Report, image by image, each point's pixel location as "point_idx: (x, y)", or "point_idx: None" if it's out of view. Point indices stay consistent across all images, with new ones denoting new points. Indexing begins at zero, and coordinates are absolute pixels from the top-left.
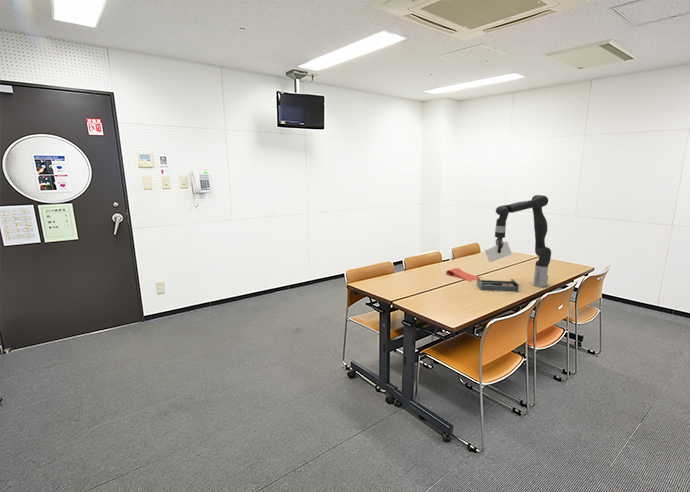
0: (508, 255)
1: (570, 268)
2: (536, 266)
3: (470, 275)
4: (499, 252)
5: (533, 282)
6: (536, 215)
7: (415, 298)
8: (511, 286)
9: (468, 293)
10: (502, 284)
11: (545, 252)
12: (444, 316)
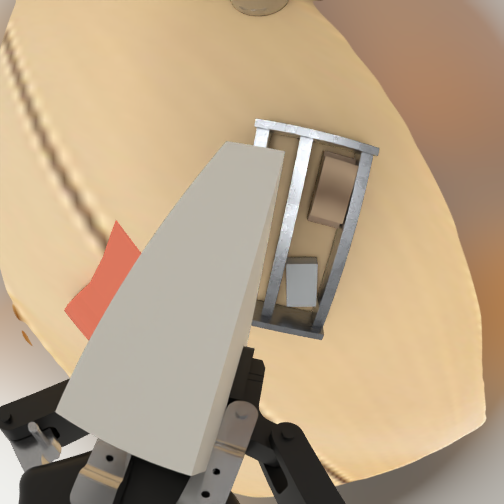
0: (274, 207)
1: None
2: None
3: (110, 272)
4: (251, 362)
5: (245, 9)
6: None
7: (345, 465)
8: (363, 185)
9: (348, 373)
10: (321, 217)
11: None
12: (451, 433)
